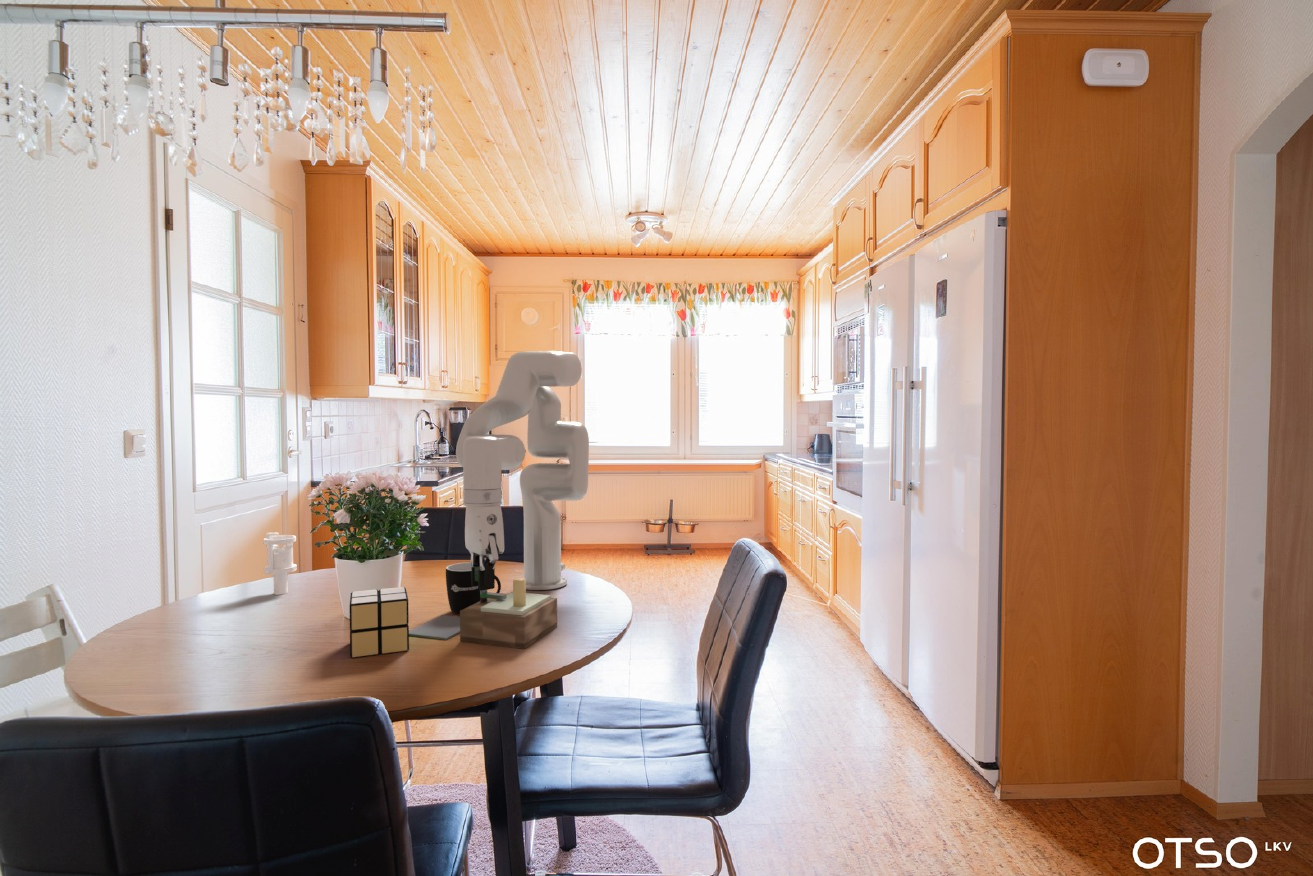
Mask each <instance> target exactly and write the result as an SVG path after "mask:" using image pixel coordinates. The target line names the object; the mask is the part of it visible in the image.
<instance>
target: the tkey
mask: <svg viewBox="0 0 1313 876" xmlns="http://www.w3.org/2000/svg"><path fill="white" fill-rule="evenodd" d="M478 570H480V565H479V566H476V567H475V581H478ZM500 593H501V592H500ZM500 593H496V592H490V591H488V590H482V591H480V602H487V598H490V599H499V600H504V599H506V598H507V594H508V593H503V594H500Z"/></svg>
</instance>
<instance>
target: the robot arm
mask: <svg viewBox="0 0 1313 876" xmlns="http://www.w3.org/2000/svg"><path fill="white" fill-rule="evenodd" d="M582 369H583V368H582V363H581V360H580V358H579V356H578V355H577V354H576V353H575V352H572V351H570V352H568V351H566V352H565V351H556V350H534V351H533V350H530V351H529V350H526V351H518V352H515V353H514V354H512V355H511V356H510V357H509V359H508V361H507V363H506V366H505V369H504V371H503V374H502V377H501V380H500V381H499V385H498V387H497V391H496V394H495V396H493V397H492V398H490V399H488V400H487V401H485V402H484V403H482V405H480V406H479V407H478V408H476V409H475V410H474V411H472V413H471V414H470V415H469V416H467V418H466V420H465V422H464V424H463V426H462V427H461V431H460V433H459V436H458V439H457V442H456V446H455V447H456V449H455V456H456V460H457V463H458V465H460V466H461V467H462V470H463V471H462V475H463V476H462V477H463V478H462V483H463V485H462V486H463V487H462V488H463V489H462V491H463V492H462V493H463V495H462V499H463V501H462V502H463V503H462V504H463V506H464V507H465V520H464V543H465V544H464V545H465V549H467V550H468V552H469V554H470V555H469V556H470V562H471V566H472V567H471V585H472V586H473V587H476V586H478V588H479V590H480V591H482V590H487V591H489V590H493V589H495V587H496V586H495V584H496V580H495V575H496V574H495V573H496V571H495V570H496V563H497V562H498V561H499V555H500V554H503V553H504V551H505V534H504V533H505V532H504V520H503V519H504V518H503V511H502V507H501V505H502V503H503V501H502V494H503V490H502V471H512V470H514V469H517V468H518V467H520V466H521V465H522V464H523V462H524V460H525V457H526V448H525V444H524V442H523V440H521V439H520V438H519V437H518V436H517V435H513V434H488V433H489V432H491V431H492V430H494V429H497V428H498V427H501V426H504V425H506V424H511V423H512V422H514V421H517V420H520V419H521V418H524V417H525V416H527V433H526V435H527V437H526V438H527V441H526V443H527V450H528V453H529V454H530V455H531V456H532V457H535V458H541V459H567V460H568V463H555V462H552V463H551V462H549V463H548V462H545V463H544V462H542V463H541V462H539V463H536V462H535V463H532V464H531V463H530V464H528V465H526V466H524V467H523V468H522V469H521V472H520V474H519V487H520V491H521V499H522V504H523V505H522V506H523V507H522V508H523V577H522V578H523V579H526V590H530V591H531V590H532V591H548V590H554V589H560V588H563V587H564V586H566V585H567V584H568V579H567V577H565V576H562V571H563V570H565V569H566V565H565V563H563V562H562V518H561V514H560V512H559V510H558V508H557V507H556V506H555V504H554V503H553V502H554V501H565V502H566V501H567V502H569V501H573V502H574V501H580V500H583V499H584V498H585V497H586V495H587V492H588V487H589V459H590V458H589V457H590V452H589V451H590V440H589V439H590V437H589V432H588V430H587V428H586V426H585V425H584V424H583V423H581V422H578V421H562V403H561V400H560V398H559V396H558V395H557V393H556V392H555V391H554V390H553V389H552V388H551V387H563V388H566V387H573V386H575V385H577V383H579V381H580V379H581V376H582V371H583V370H582ZM487 552H488V553H487ZM479 565H480V570H478V581H475V567H476V566H479ZM473 566H474V567H473Z"/></svg>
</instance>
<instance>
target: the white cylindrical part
mask: <svg viewBox="0 0 1313 876" xmlns="http://www.w3.org/2000/svg"><path fill="white" fill-rule="evenodd" d="M262 540H263V544H264V545H266V546H265V548H267V552H266V553H267V559H266V560H267V562H266V565H267V566H265V567H264V568H263V573H264V574H266V575H273V595H277V596H278V595H279V596H281V595H285V594H288V593H289V586H288V585H289V583H288V582H289V581H288V579H289V577H288V576H289V575H288V573H292V572H296V571H297V569H298V568H297V564H296V563H294V543H295V542H297V536H296V535H293V534H292V535H291V534H281V535H280V532H277V531H276V532H275V531H274V532H270V531H269V532H266V533H265V537H264V538H263V539H262ZM280 545H282V547H281V548H280Z"/></svg>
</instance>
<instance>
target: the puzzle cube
mask: <svg viewBox="0 0 1313 876" xmlns="http://www.w3.org/2000/svg"><path fill="white" fill-rule="evenodd" d="M409 619H410V618H409V596H408V591H407V588H406V587H405V586H399V587H398V586H397V587H389V588H388V587H387V588H380V589H365V590H355V591H352V592H351V593H350V599H349V654H350V658H351V659H357V658H365V657H371V656H373V657H374V656H379V655H380V654H381V655H388V654H397V653H404V652H408V651H409V650H410V636H409V630H410V625H409V622H410V621H409Z"/></svg>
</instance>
